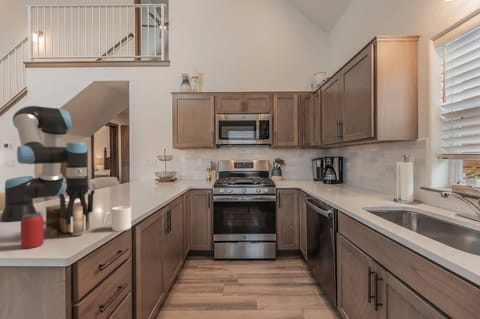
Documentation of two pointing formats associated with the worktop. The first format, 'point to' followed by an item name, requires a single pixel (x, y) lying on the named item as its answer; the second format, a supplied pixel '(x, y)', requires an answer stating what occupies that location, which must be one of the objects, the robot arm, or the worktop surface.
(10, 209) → the robot arm
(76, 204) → the cubby shelf
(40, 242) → the beer can
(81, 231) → the tethered cylinder
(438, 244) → the worktop surface
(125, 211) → the cup
